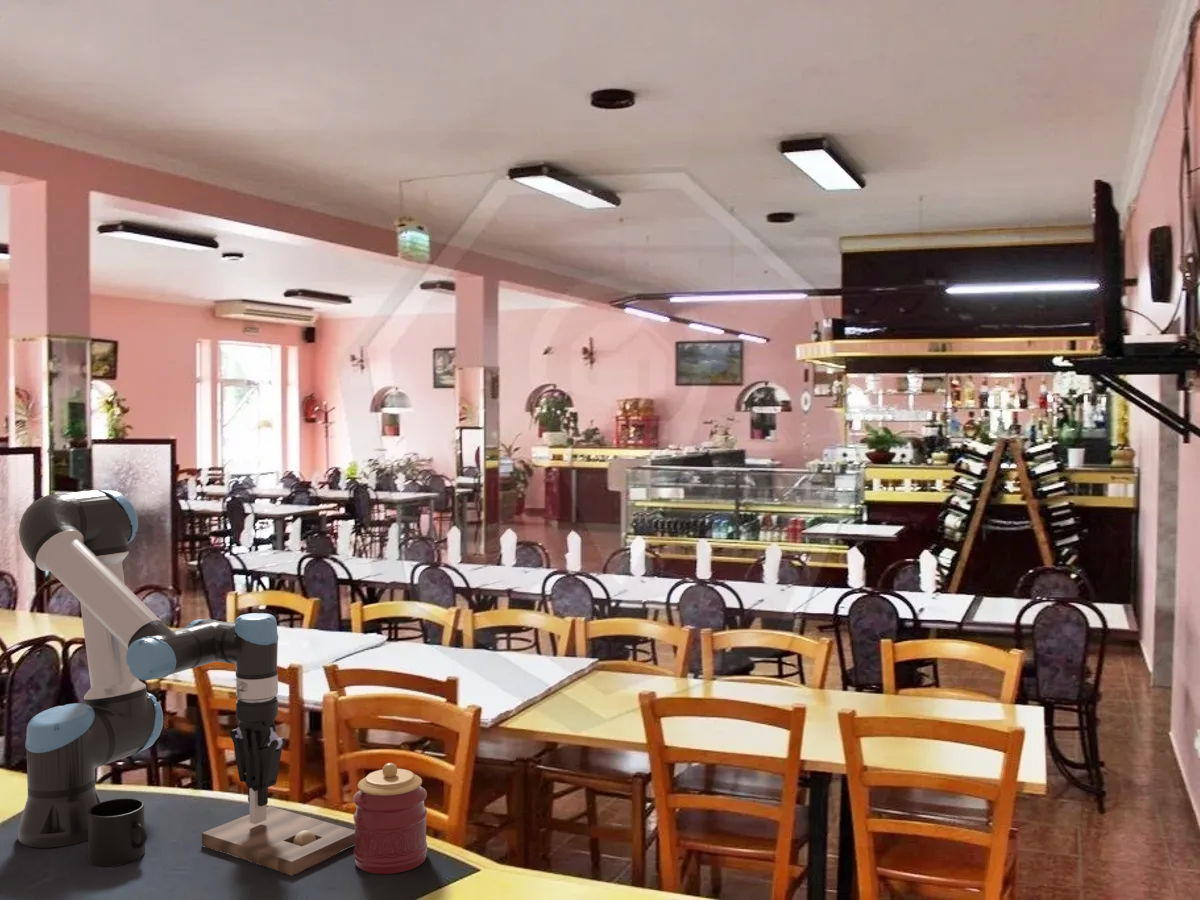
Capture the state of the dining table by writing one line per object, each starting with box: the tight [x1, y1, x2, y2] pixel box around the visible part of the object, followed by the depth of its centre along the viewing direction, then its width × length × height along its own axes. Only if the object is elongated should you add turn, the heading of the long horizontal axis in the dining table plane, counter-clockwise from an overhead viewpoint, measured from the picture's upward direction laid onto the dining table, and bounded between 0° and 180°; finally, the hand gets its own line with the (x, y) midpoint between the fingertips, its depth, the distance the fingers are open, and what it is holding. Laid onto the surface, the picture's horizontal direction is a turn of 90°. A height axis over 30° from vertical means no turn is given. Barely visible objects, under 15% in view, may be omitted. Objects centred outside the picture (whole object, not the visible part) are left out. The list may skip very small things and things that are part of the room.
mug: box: [87, 797, 147, 867], centre depth 199 cm, size 9×12×9 cm
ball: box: [293, 830, 316, 846], centre depth 201 cm, size 4×4×4 cm
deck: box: [201, 805, 355, 877], centre depth 205 cm, size 24×16×2 cm, turn 58°
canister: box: [352, 762, 428, 875], centre depth 198 cm, size 13×13×18 cm
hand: (258, 821), depth 208 cm, fingers closed
